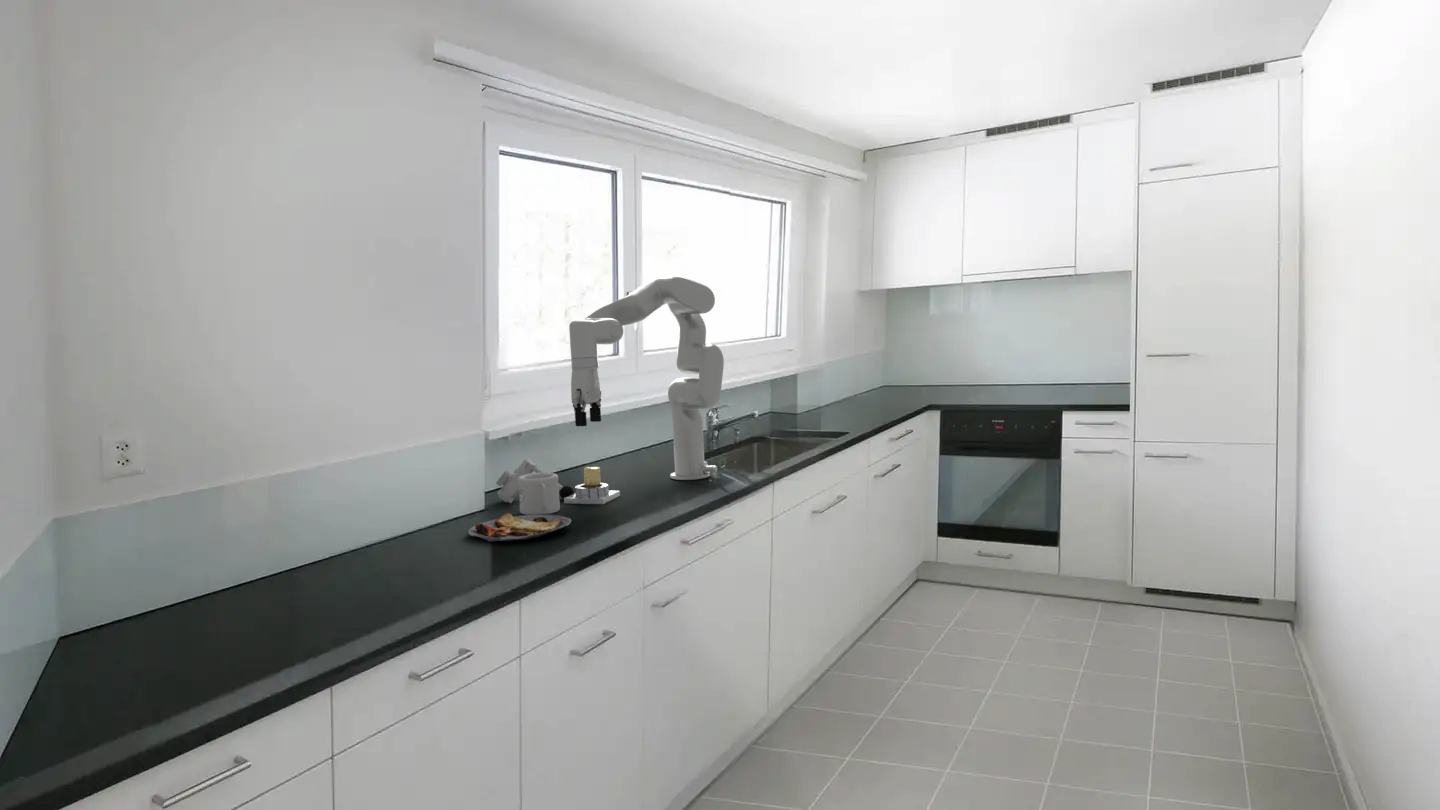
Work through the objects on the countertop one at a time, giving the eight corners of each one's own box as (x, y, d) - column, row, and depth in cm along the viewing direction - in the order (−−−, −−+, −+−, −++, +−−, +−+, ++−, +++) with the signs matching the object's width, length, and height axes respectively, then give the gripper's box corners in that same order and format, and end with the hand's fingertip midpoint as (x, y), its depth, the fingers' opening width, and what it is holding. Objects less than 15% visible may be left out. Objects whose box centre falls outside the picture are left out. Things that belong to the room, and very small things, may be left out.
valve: (542, 536, 277) (574, 496, 275) (486, 494, 275) (517, 454, 273) (548, 525, 288) (579, 486, 286) (494, 485, 285) (524, 446, 283)
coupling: (588, 492, 281) (587, 466, 280) (603, 492, 280) (602, 467, 279) (582, 495, 277) (581, 469, 276) (597, 495, 276) (596, 469, 275)
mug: (516, 510, 268) (514, 474, 267) (555, 506, 272) (553, 470, 271) (526, 519, 255) (523, 482, 254) (566, 514, 259) (564, 477, 258)
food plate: (448, 540, 236) (447, 526, 236) (514, 520, 256) (513, 507, 256) (525, 549, 224) (524, 534, 223) (588, 527, 243) (588, 514, 243)
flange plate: (620, 495, 282) (619, 482, 282) (603, 504, 271) (602, 490, 271) (582, 495, 286) (581, 481, 286) (564, 503, 275) (563, 489, 274)
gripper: (585, 362, 284) (589, 419, 286) (559, 366, 267) (563, 428, 269) (609, 361, 282) (612, 419, 283) (583, 365, 265) (587, 427, 267)
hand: (588, 423), depth 276 cm, fingers open, 9 cm apart
